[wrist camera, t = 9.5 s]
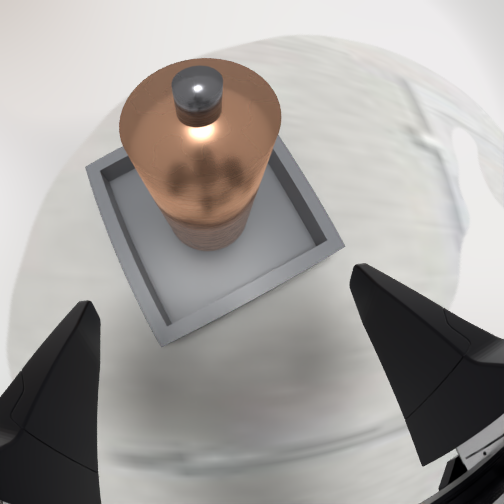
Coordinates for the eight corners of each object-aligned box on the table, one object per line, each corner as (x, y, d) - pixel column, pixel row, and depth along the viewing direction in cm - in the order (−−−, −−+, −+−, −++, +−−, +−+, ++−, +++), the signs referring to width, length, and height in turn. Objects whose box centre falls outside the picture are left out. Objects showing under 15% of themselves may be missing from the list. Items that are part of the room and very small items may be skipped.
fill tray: (329, 253, 22) (345, 246, 19) (168, 341, 20) (161, 347, 17) (245, 115, 24) (250, 94, 21) (98, 182, 21) (85, 167, 18)
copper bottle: (263, 204, 21) (322, 78, 8) (215, 267, 20) (210, 202, 7) (201, 162, 21) (192, 17, 8) (153, 220, 20) (74, 108, 7)
